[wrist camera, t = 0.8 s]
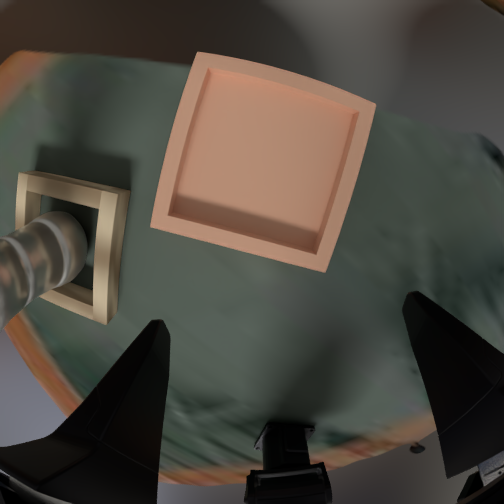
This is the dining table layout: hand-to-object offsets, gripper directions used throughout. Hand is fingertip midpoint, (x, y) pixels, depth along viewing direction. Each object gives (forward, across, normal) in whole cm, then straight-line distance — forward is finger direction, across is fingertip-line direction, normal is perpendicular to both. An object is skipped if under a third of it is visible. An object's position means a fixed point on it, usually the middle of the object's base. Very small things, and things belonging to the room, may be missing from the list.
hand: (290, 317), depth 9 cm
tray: (+15, 0, -1) cm, 15 cm away
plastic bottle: (+14, +19, +3) cm, 23 cm away
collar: (+13, +19, +3) cm, 23 cm away
